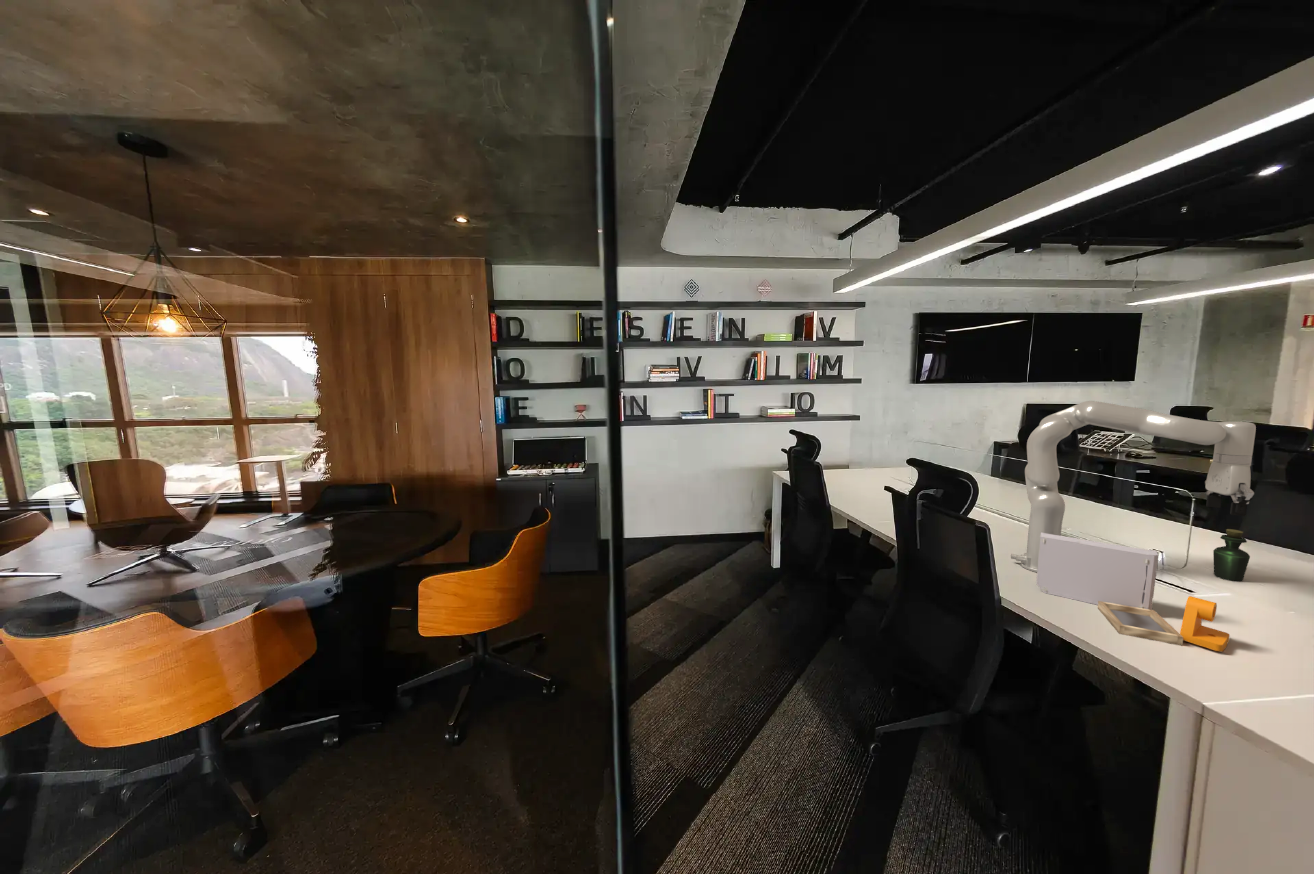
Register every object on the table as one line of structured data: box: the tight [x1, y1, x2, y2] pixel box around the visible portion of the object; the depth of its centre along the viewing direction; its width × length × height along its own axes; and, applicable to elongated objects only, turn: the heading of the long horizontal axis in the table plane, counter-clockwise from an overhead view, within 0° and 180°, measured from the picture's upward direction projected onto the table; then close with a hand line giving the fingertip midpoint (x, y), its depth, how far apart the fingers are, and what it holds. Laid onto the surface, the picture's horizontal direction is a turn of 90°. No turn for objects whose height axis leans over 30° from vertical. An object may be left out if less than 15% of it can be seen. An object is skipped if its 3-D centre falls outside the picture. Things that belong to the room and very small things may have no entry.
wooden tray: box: [1097, 601, 1184, 647], centre depth 130 cm, size 12×16×2 cm
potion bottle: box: [1212, 528, 1251, 583], centre depth 159 cm, size 8×8×18 cm
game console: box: [1035, 533, 1159, 610], centre depth 144 cm, size 6×27×20 cm, turn 47°
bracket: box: [1179, 595, 1231, 653], centre depth 120 cm, size 11×7×12 cm, turn 120°
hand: (1224, 511), depth 142 cm, fingers open, 9 cm apart
